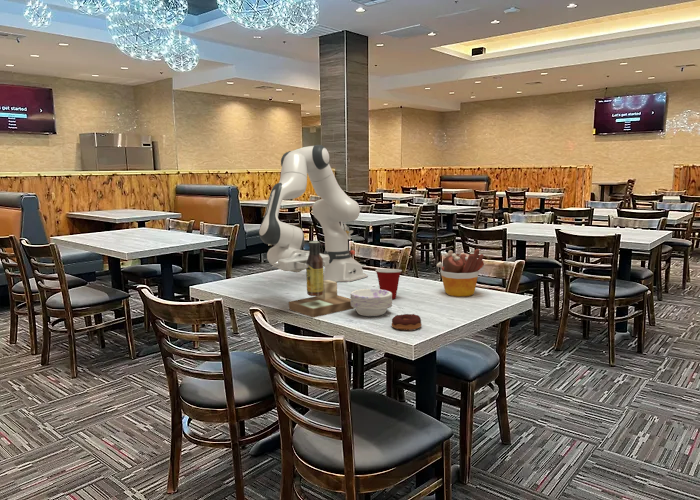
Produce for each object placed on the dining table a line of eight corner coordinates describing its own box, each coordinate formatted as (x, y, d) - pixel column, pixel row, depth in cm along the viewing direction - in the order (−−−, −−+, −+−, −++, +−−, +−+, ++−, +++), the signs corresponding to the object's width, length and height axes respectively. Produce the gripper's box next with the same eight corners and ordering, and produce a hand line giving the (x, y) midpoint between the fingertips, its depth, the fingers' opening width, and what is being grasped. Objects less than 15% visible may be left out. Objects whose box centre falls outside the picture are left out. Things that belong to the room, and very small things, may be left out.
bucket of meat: (429, 292, 227) (429, 246, 224) (458, 287, 236) (458, 242, 233) (463, 301, 211) (464, 251, 208) (493, 295, 219) (493, 247, 217)
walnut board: (330, 300, 217) (330, 292, 217) (356, 307, 205) (355, 299, 204) (288, 309, 205) (288, 301, 204) (313, 317, 192) (312, 308, 192)
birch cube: (328, 294, 215) (327, 279, 214) (337, 297, 210) (336, 282, 209) (315, 297, 211) (315, 282, 210) (324, 299, 206) (324, 284, 205)
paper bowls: (395, 308, 202) (394, 288, 201) (388, 319, 187) (388, 297, 186) (355, 307, 205) (355, 287, 204) (346, 318, 191) (345, 296, 190)
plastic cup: (404, 295, 223) (404, 267, 221) (398, 301, 213) (398, 272, 211) (379, 294, 226) (379, 266, 225) (372, 300, 216) (371, 271, 214)
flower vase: (344, 272, 278) (343, 224, 274) (318, 268, 289) (316, 222, 286) (359, 268, 288) (358, 222, 284) (333, 265, 299) (332, 220, 296)
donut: (385, 328, 178) (385, 316, 177) (402, 321, 185) (402, 310, 185) (410, 333, 171) (410, 321, 171) (427, 326, 179) (427, 315, 178)
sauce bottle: (306, 293, 201) (305, 240, 198) (323, 292, 202) (322, 240, 199) (306, 297, 195) (305, 242, 192) (324, 296, 195) (322, 242, 192)
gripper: (271, 255, 200) (291, 259, 189) (316, 249, 212) (337, 253, 202) (272, 272, 201) (292, 277, 190) (316, 265, 213) (337, 270, 203)
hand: (315, 265), depth 196 cm, fingers closed on sauce bottle, 6 cm apart
